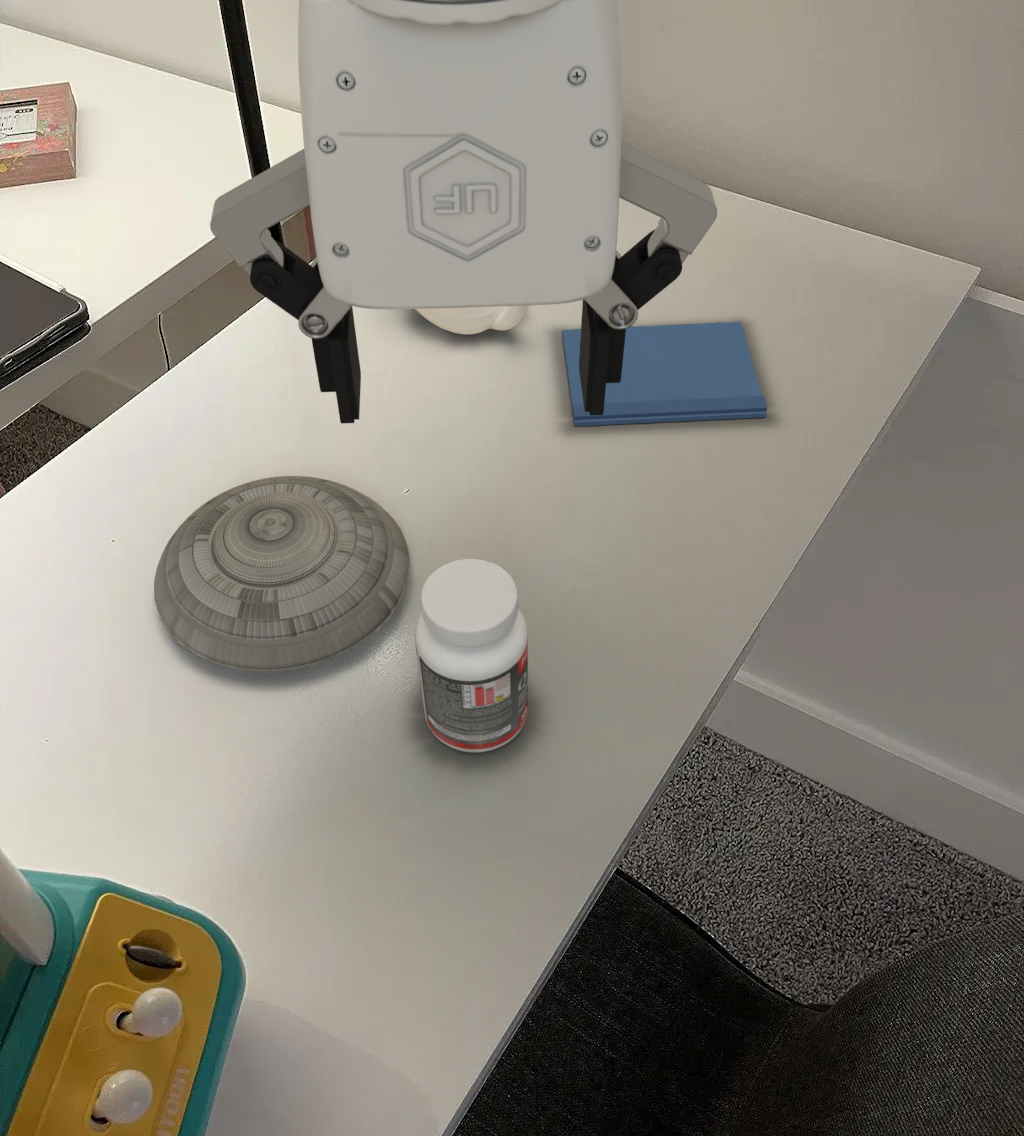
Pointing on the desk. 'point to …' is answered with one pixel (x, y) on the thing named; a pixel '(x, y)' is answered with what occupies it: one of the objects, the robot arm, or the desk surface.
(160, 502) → the desk surface
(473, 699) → the pill bottle
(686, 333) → the cloth
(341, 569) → the flying saucer
